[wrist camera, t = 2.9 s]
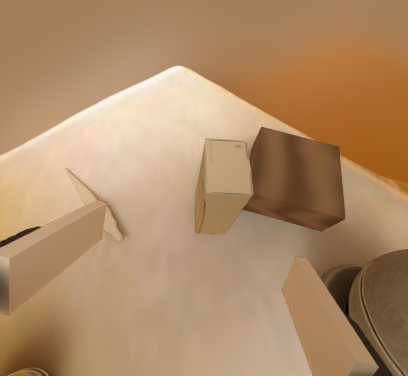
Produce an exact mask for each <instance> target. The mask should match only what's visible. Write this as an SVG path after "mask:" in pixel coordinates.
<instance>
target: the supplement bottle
mask: <svg viewBox="0 0 408 376" xmlns="http://www.w3.org/2000/svg"><path fill="white" fill-rule="evenodd" d="M7 376H49V375H48V374H47V373H46V372H45V371H44V370H42V369H39V368H25V369H22V370H19V371H17V372H14V373H12V374H10V375H7Z"/></svg>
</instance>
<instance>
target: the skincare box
mask: <svg viewBox="0 0 408 376" xmlns="http://www.w3.org/2000/svg"><path fill="white" fill-rule="evenodd" d="M252 195H253V184H252V175H251V167H250V161H249V154H248V147H247V142H246V141H237V140H222V139H205V144H204V151H203V157H202V163H201V169H200V174H199V180H198V185H197V190H196V206H195V232H196V233H214V234H225V233H226V231H227V230H228V229H229V227H230V226H231V224H232V223H233V222H234V220H235V219H236V218H237V216H238V215H239V213H240V212H241V211H242V209H243V208H244V206H245V205H246V204H247V202H248V201H249V199H250V198H251V197H252Z"/></svg>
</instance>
